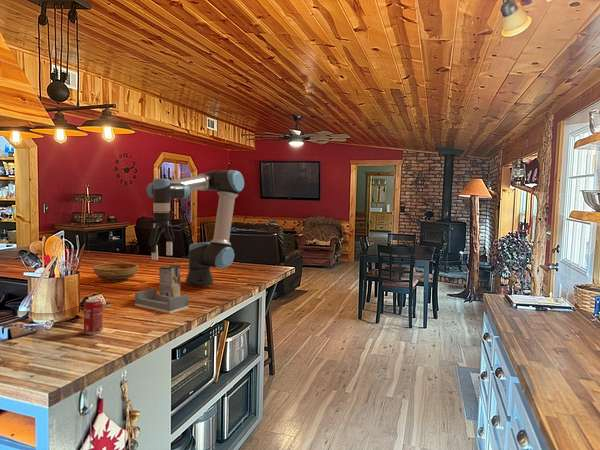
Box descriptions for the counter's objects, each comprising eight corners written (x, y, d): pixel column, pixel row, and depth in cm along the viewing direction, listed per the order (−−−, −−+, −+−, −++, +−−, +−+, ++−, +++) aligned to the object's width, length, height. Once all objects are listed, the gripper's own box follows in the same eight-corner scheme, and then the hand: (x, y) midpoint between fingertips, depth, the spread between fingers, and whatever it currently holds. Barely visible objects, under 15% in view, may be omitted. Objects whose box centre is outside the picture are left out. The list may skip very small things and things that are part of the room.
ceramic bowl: (106, 274, 267) (106, 261, 266) (146, 275, 267) (146, 262, 267) (82, 284, 237) (82, 270, 237) (127, 285, 238) (127, 271, 237)
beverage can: (88, 329, 164) (87, 297, 163) (105, 329, 164) (105, 297, 163) (81, 335, 158) (80, 302, 157) (99, 335, 158) (98, 302, 157)
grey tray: (154, 300, 208) (154, 288, 207) (188, 307, 197) (188, 294, 196) (135, 305, 198) (135, 292, 198) (169, 313, 187) (169, 299, 187)
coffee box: (168, 296, 216) (168, 264, 215) (180, 297, 215) (180, 265, 214) (159, 301, 207) (159, 267, 206) (171, 302, 206) (171, 268, 205)
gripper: (167, 210, 217) (167, 253, 219) (139, 213, 192) (140, 261, 194) (181, 210, 215) (181, 253, 217) (155, 213, 191) (155, 262, 193)
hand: (162, 257), depth 206 cm, fingers open, 13 cm apart
